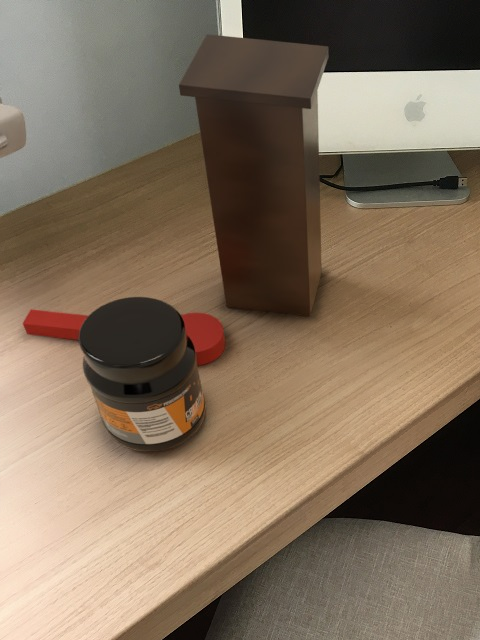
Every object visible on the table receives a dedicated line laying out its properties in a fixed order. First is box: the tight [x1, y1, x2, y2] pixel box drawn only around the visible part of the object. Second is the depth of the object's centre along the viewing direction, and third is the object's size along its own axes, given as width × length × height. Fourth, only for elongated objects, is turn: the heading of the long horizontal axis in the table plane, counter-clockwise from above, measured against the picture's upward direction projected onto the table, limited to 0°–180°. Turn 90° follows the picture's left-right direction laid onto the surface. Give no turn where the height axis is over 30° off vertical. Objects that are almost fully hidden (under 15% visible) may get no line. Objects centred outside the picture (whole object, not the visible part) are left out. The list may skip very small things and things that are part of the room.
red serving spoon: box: [22, 308, 226, 366], centre depth 87 cm, size 22×6×2 cm, turn 84°
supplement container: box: [78, 296, 207, 452], centre depth 77 cm, size 10×10×12 cm
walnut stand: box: [178, 33, 330, 317], centre depth 83 cm, size 12×10×26 cm
